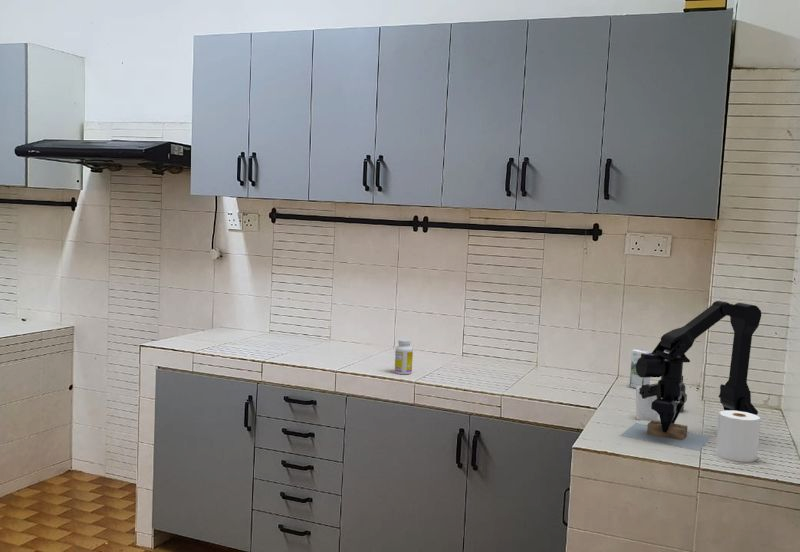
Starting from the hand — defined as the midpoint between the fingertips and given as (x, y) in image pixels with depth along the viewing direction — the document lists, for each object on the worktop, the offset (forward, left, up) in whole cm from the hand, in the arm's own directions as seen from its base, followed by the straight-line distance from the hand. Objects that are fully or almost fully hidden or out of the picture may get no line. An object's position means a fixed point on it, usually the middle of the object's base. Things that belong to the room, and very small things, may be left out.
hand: (667, 429), depth 231 cm
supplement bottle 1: (+104, -24, -3) cm, 107 cm away
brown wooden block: (0, 0, -2) cm, 2 cm away
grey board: (0, +1, -2) cm, 3 cm away
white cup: (+10, -18, -3) cm, 20 cm away
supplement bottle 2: (+6, -37, -3) cm, 37 cm away
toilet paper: (-20, +8, -3) cm, 22 cm away
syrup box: (+24, -64, -3) cm, 68 cm away
